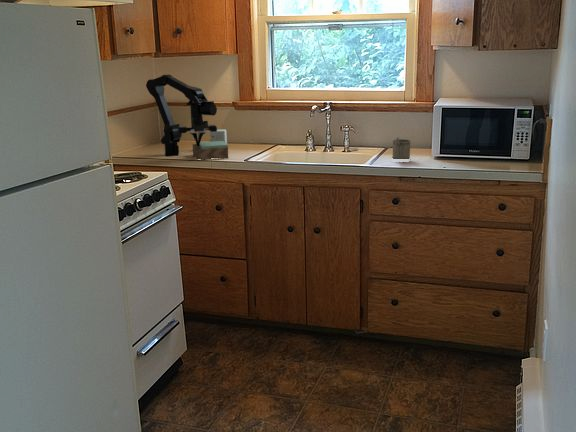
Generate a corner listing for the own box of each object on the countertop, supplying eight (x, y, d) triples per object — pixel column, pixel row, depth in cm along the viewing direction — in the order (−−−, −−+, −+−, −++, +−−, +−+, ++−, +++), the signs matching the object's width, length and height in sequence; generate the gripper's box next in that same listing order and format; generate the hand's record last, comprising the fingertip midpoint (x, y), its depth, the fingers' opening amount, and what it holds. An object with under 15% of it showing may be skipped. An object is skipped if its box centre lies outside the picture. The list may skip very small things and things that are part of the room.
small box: (227, 148, 337) (226, 129, 334) (225, 150, 331) (224, 130, 328) (212, 148, 337) (211, 129, 335) (210, 150, 332) (209, 130, 329)
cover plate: (201, 149, 306) (201, 146, 305) (197, 145, 318) (197, 142, 317) (228, 147, 309) (227, 144, 309) (223, 143, 321) (222, 140, 321)
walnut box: (198, 160, 305) (197, 149, 304) (193, 155, 320) (192, 144, 318) (228, 158, 309) (227, 147, 308) (222, 153, 324) (221, 142, 323)
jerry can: (394, 158, 304) (395, 133, 301) (414, 160, 300) (415, 134, 296) (384, 163, 292) (385, 138, 288) (404, 165, 287) (405, 139, 284)
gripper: (179, 117, 297) (181, 149, 301) (218, 115, 302) (219, 147, 306) (176, 114, 308) (178, 146, 312) (214, 113, 313) (215, 144, 317)
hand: (198, 146), depth 311 cm, fingers closed
